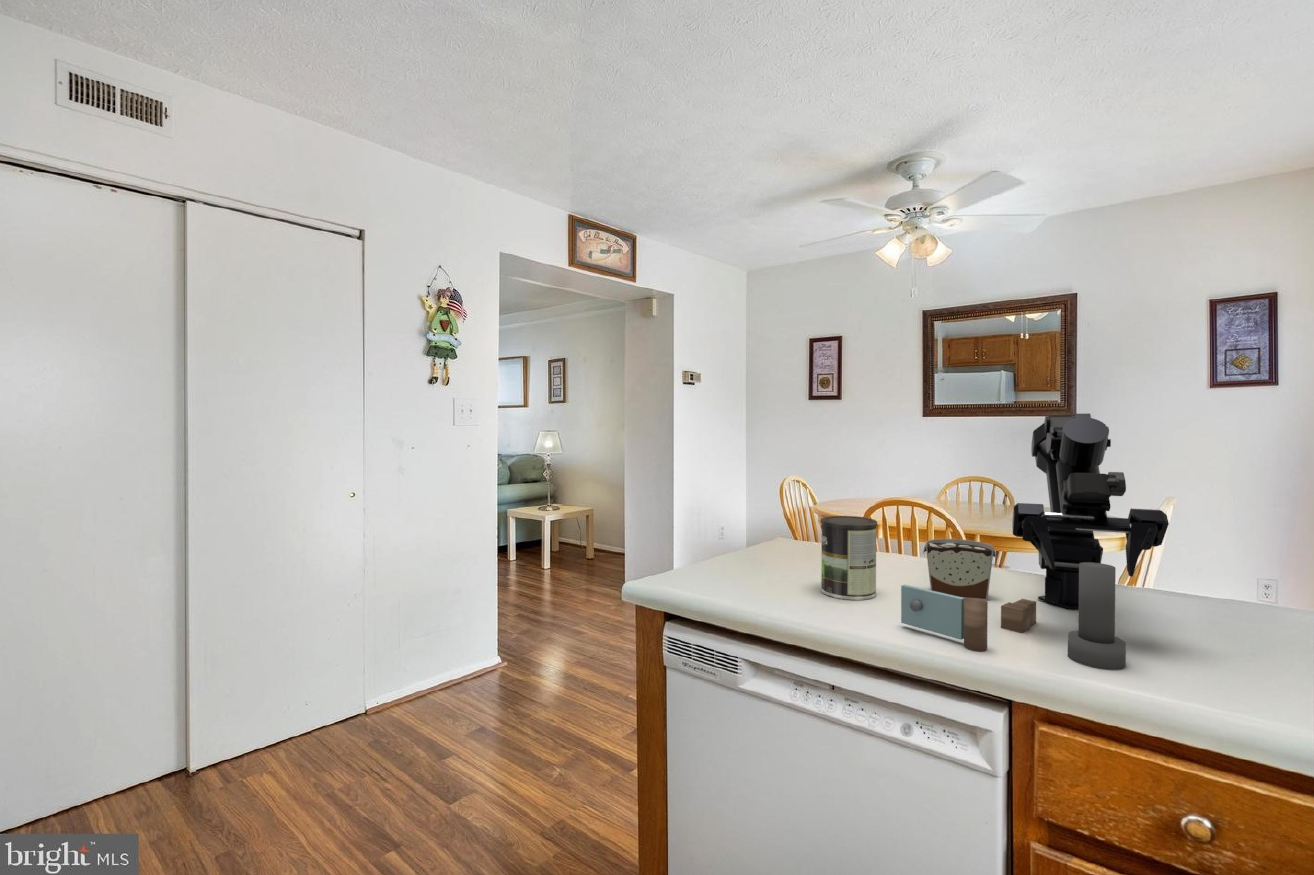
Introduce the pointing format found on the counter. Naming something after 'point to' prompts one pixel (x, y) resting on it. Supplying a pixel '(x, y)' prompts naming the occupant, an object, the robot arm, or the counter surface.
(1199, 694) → the counter surface
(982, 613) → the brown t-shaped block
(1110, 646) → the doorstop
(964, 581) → the food container
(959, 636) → the door
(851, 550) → the coffee can
